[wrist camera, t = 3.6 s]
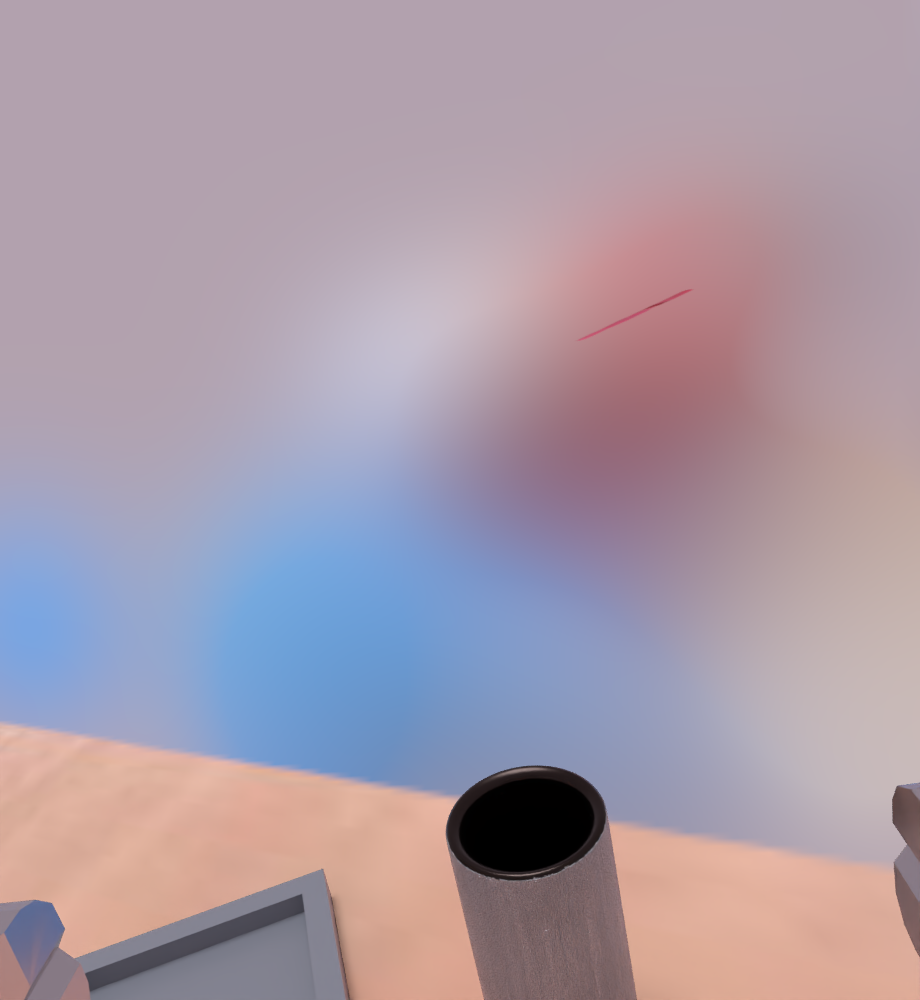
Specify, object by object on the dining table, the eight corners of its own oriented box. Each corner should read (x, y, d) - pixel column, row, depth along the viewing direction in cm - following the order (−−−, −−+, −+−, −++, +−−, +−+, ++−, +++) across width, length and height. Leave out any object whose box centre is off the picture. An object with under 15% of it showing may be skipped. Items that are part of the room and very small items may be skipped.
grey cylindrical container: (497, 1152, 24) (429, 879, 21) (514, 1010, 28) (460, 766, 25) (653, 1162, 23) (606, 877, 20) (646, 1014, 27) (607, 759, 24)
